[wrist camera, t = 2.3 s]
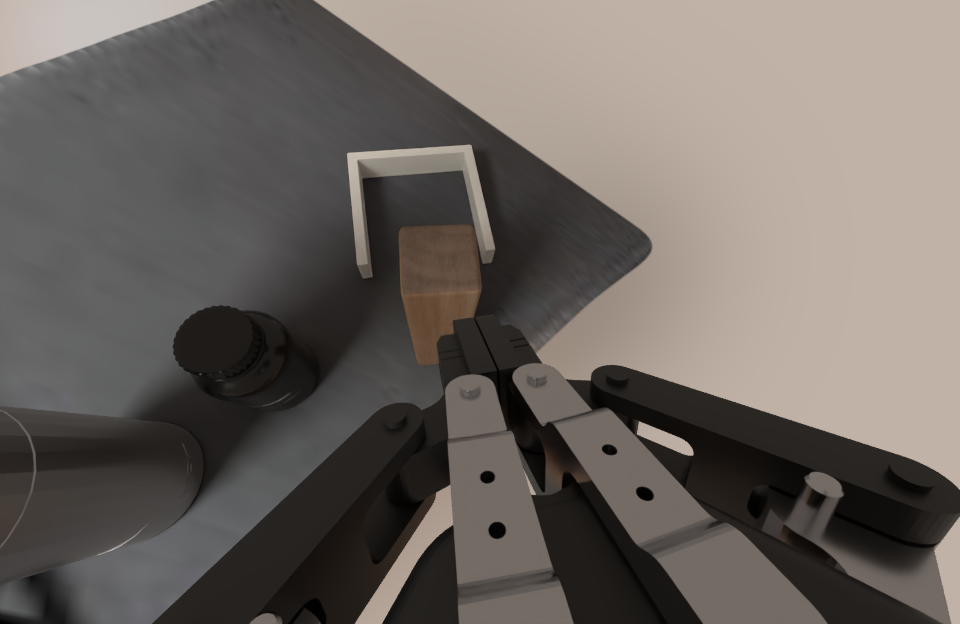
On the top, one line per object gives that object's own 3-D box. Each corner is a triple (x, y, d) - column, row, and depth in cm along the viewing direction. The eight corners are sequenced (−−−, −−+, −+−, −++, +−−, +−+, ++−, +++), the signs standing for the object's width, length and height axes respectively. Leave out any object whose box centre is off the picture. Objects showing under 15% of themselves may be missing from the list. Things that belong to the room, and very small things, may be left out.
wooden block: (413, 283, 39) (395, 161, 23) (455, 281, 40) (468, 160, 23) (417, 366, 36) (400, 296, 20) (462, 362, 37) (483, 291, 20)
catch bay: (362, 278, 39) (357, 265, 36) (352, 172, 43) (347, 153, 41) (491, 262, 41) (495, 249, 38) (469, 163, 46) (471, 144, 43)
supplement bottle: (284, 427, 33) (207, 416, 22) (228, 384, 34) (124, 352, 23) (337, 365, 36) (291, 327, 24) (283, 326, 36) (214, 272, 25)
